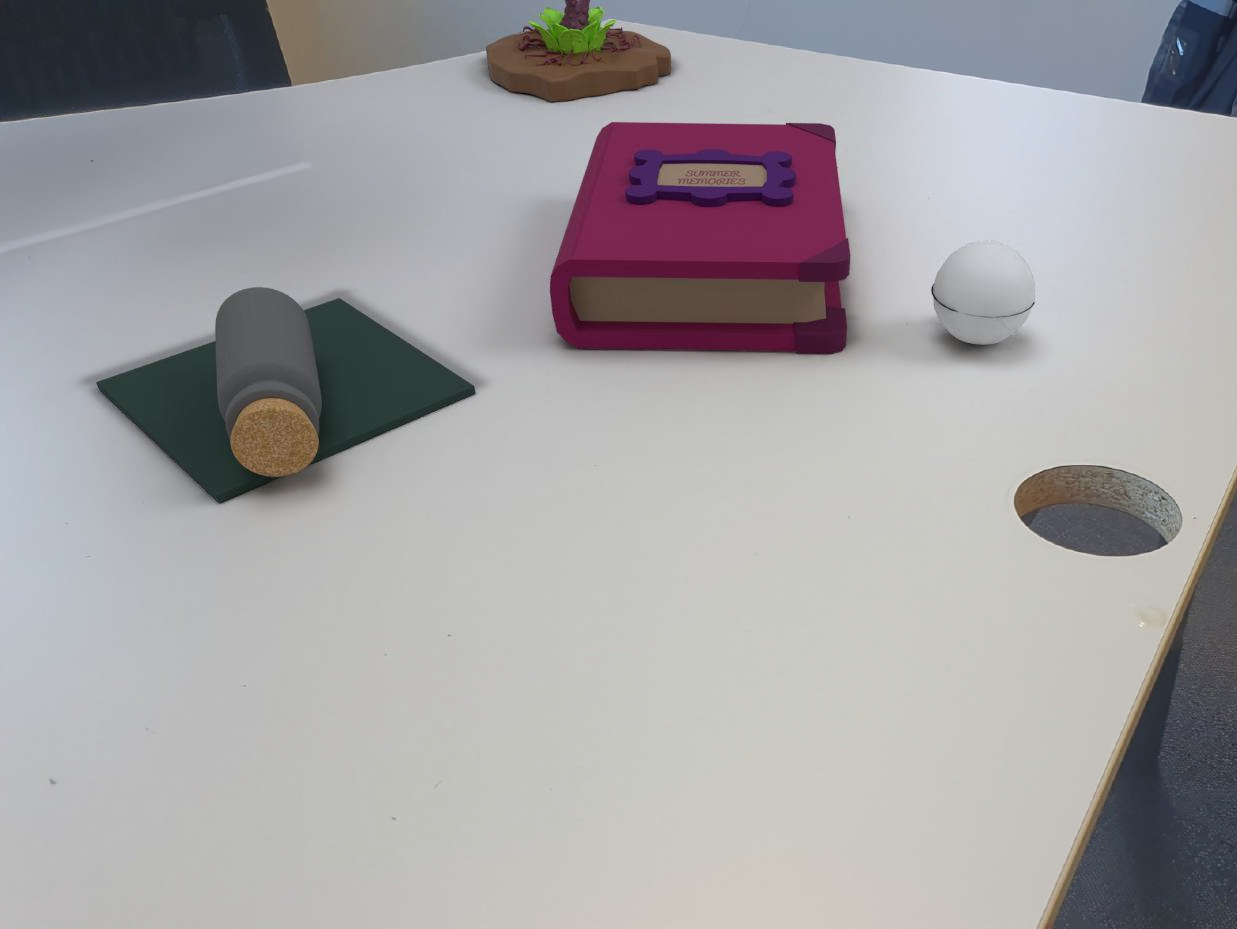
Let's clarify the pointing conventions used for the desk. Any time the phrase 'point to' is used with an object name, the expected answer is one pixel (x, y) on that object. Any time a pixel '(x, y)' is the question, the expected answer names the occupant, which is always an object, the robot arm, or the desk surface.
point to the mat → (349, 383)
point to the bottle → (267, 381)
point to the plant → (575, 56)
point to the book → (705, 241)
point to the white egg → (983, 292)
